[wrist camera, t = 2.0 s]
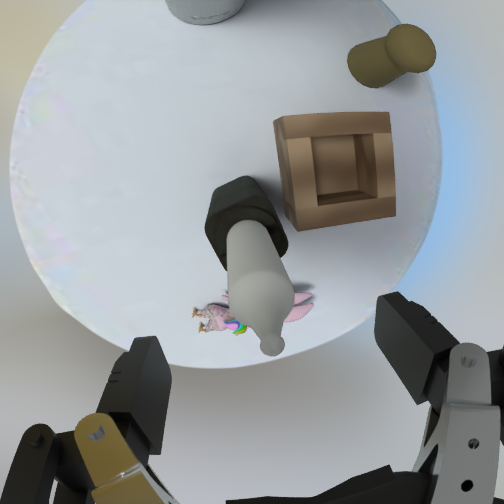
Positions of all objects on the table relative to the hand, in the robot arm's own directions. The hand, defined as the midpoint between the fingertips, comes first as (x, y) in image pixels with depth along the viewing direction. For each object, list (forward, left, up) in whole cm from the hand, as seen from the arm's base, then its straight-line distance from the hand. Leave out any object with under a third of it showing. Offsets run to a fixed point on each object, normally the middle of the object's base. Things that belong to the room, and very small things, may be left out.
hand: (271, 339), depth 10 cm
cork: (-15, +18, -25) cm, 34 cm away
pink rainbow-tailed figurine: (+13, -1, -25) cm, 28 cm away
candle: (0, 0, -25) cm, 25 cm away
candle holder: (-3, +11, -24) cm, 27 cm away
